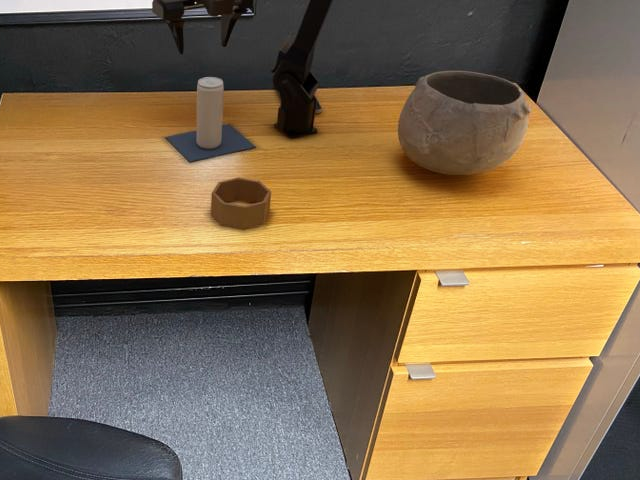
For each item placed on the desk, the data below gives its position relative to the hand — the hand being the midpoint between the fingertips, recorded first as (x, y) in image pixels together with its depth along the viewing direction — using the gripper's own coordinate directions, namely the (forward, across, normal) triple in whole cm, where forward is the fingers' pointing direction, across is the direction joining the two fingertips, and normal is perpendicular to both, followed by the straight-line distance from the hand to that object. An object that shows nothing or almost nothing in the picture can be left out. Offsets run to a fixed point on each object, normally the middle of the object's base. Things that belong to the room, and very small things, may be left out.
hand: (202, 50), depth 134 cm
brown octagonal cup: (+13, -11, -37) cm, 41 cm away
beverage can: (+13, -5, -13) cm, 19 cm away
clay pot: (+13, +31, -39) cm, 52 cm away
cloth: (+13, -4, -12) cm, 18 cm away
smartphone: (+13, +22, -2) cm, 26 cm away
